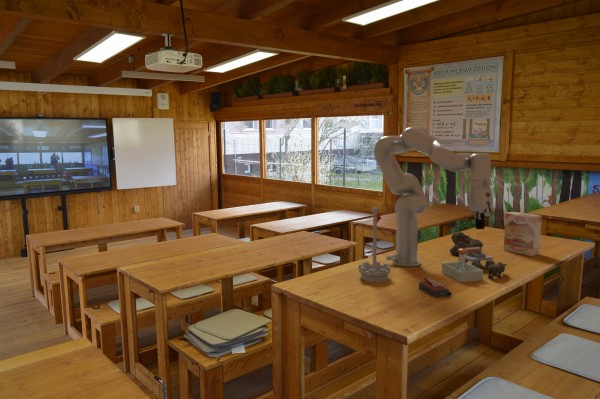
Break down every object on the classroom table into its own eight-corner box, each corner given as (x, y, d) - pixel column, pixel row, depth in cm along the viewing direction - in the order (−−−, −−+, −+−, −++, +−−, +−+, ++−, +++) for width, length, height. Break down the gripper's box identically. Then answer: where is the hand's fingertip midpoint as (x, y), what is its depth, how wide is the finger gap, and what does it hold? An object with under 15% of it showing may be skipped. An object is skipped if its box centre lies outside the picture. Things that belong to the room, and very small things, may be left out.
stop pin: (460, 276, 194) (461, 250, 192) (455, 273, 197) (456, 248, 196) (467, 275, 195) (468, 249, 193) (462, 272, 198) (463, 247, 197)
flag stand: (379, 285, 186) (380, 210, 182) (352, 278, 194) (352, 207, 190) (396, 277, 196) (397, 206, 191) (369, 271, 204) (370, 203, 200)
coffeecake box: (503, 250, 238) (505, 212, 235) (510, 248, 242) (512, 211, 239) (532, 256, 226) (535, 216, 223) (539, 254, 230) (542, 215, 227)
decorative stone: (481, 247, 220) (451, 233, 226) (471, 267, 224) (442, 252, 230) (486, 239, 234) (457, 225, 240) (476, 257, 238) (448, 243, 243)
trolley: (474, 272, 201) (475, 254, 200) (456, 263, 215) (457, 246, 214) (497, 270, 204) (497, 252, 203) (477, 261, 217) (478, 245, 216)
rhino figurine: (510, 274, 199) (510, 260, 198) (494, 281, 190) (495, 266, 189) (500, 272, 202) (501, 258, 201) (484, 278, 193) (485, 264, 192)
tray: (460, 282, 188) (461, 272, 188) (441, 272, 202) (441, 263, 201) (482, 280, 191) (483, 270, 190) (462, 270, 204) (462, 261, 204)
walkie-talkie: (456, 297, 172) (426, 281, 191) (457, 285, 172) (426, 270, 191) (436, 300, 170) (407, 283, 189) (436, 288, 169) (407, 273, 188)
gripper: (500, 184, 182) (500, 231, 184) (477, 182, 196) (477, 225, 198) (483, 185, 180) (483, 232, 182) (461, 183, 195) (461, 226, 197)
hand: (480, 228), depth 190 cm, fingers closed
